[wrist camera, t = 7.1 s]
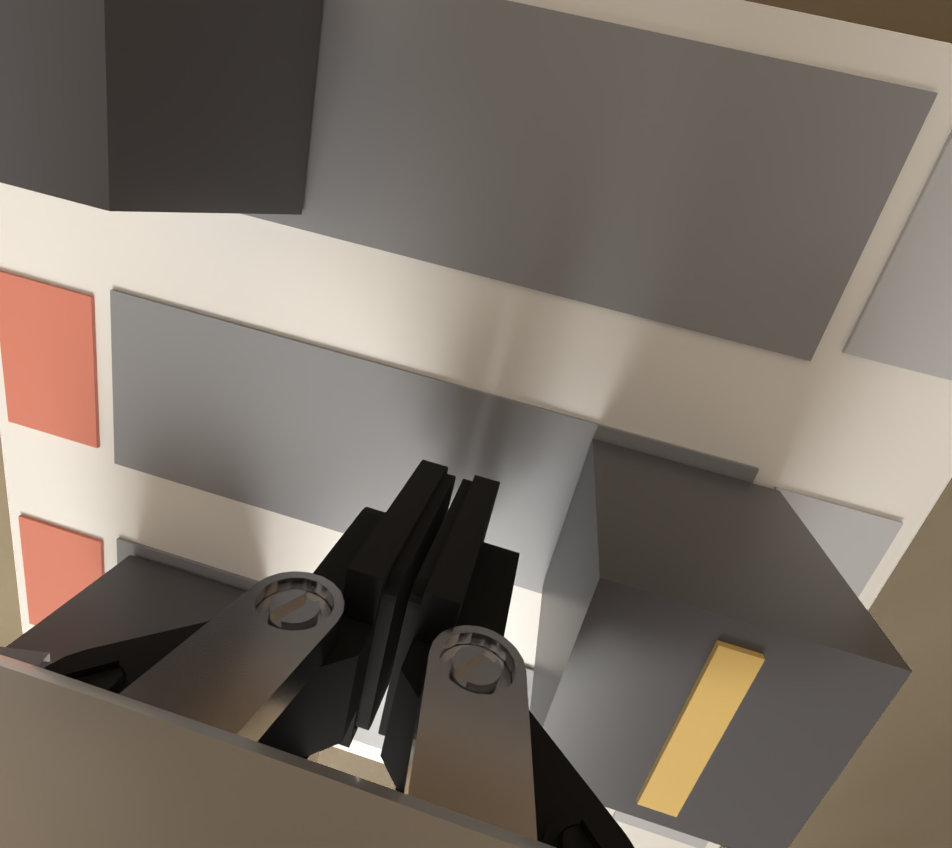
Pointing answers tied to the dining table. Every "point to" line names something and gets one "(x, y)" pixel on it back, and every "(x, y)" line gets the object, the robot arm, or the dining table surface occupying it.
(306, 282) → the panel
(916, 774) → the dining table surface
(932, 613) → the dining table surface
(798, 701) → the toggle
